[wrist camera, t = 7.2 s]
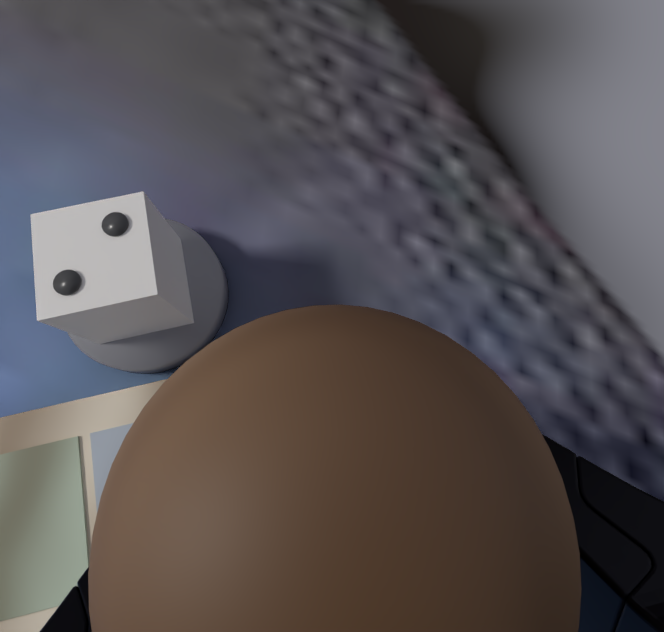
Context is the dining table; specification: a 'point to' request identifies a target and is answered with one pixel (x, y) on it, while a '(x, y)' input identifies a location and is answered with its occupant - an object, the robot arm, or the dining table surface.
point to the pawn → (334, 491)
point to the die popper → (127, 283)
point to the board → (55, 497)
